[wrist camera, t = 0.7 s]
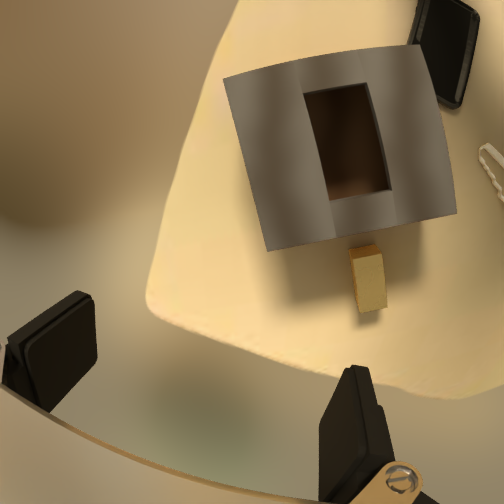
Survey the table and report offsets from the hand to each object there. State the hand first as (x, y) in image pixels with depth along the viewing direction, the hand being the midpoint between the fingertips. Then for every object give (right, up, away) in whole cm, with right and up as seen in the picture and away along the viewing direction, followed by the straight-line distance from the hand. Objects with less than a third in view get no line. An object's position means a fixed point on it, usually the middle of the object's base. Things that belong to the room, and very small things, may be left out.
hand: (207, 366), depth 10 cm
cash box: (+10, +15, +20) cm, 27 cm away
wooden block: (+14, +2, +23) cm, 27 cm away
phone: (+23, +27, +14) cm, 38 cm away
